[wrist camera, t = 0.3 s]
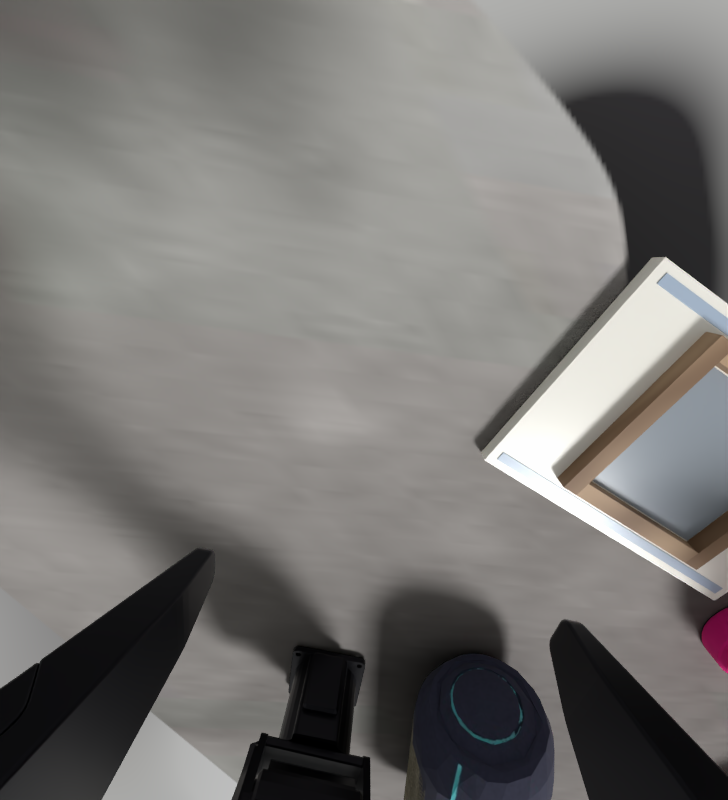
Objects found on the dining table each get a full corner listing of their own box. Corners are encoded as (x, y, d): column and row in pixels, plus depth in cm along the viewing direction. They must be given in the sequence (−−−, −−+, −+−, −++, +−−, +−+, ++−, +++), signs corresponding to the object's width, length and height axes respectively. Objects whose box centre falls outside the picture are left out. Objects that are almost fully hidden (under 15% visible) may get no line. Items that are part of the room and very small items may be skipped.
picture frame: (906, 448, 21) (932, 457, 20) (702, 588, 26) (715, 601, 25) (652, 257, 18) (666, 257, 17) (480, 452, 23) (484, 460, 22)
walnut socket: (849, 436, 20) (871, 445, 19) (684, 557, 24) (696, 570, 23) (706, 331, 19) (722, 335, 18) (556, 478, 22) (563, 487, 21)
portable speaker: (413, 627, 30) (421, 789, 21) (535, 638, 29) (598, 813, 20) (397, 785, 39) (398, 947, 30) (490, 797, 38) (519, 967, 29)
